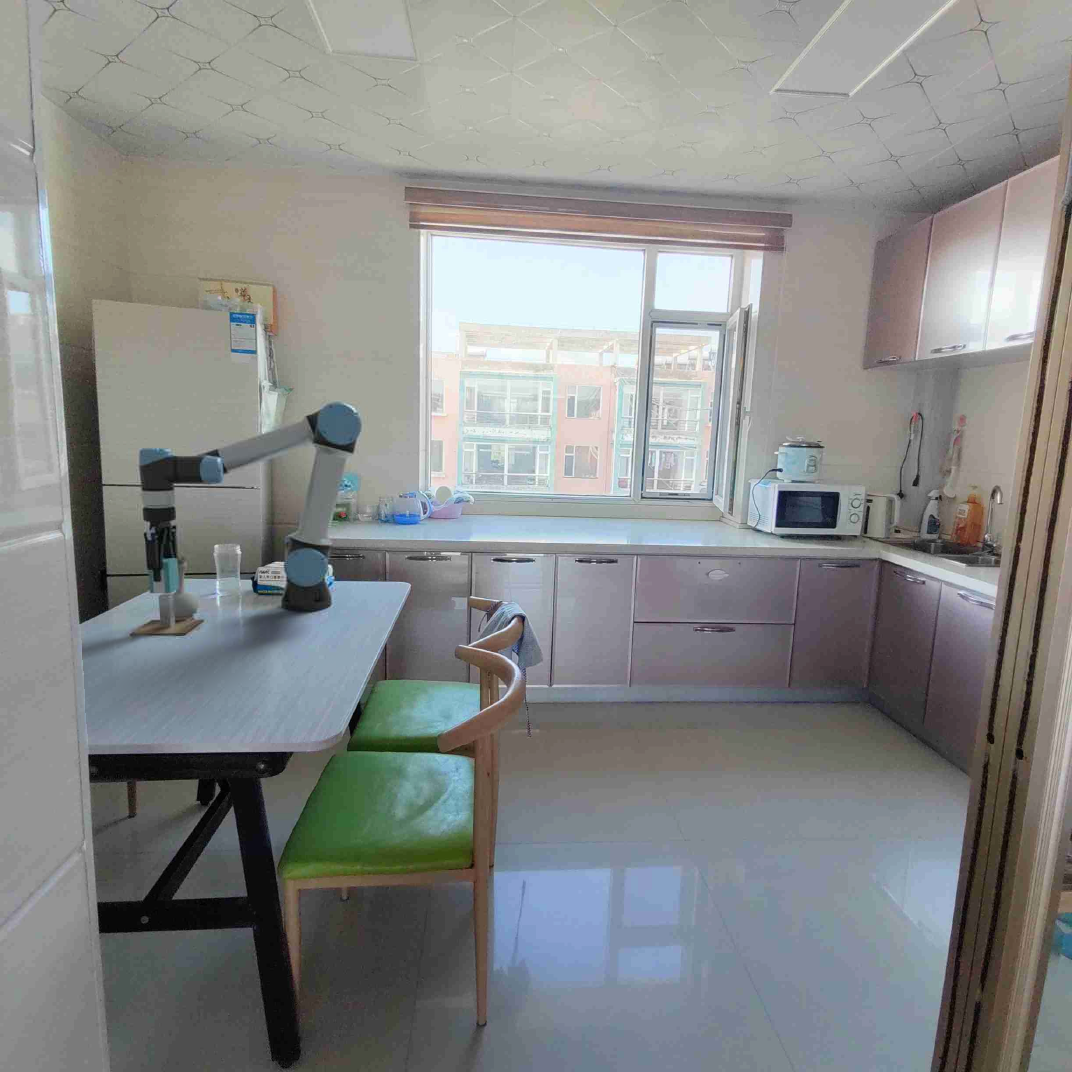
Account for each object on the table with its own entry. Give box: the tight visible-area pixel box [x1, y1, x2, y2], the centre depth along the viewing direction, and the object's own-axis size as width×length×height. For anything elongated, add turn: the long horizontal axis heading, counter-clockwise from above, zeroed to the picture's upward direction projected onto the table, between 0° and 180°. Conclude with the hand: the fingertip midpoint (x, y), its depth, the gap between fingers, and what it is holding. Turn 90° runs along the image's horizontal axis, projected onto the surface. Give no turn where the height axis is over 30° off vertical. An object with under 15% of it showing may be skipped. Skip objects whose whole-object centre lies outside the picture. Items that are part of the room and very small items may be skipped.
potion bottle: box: [171, 555, 199, 620], centre depth 178 cm, size 9×9×18 cm
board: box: [129, 618, 205, 637], centre depth 170 cm, size 14×12×1 cm
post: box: [158, 593, 175, 628], centre depth 170 cm, size 3×3×9 cm
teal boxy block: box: [147, 558, 179, 594], centre depth 168 cm, size 5×5×9 cm
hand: (164, 589), depth 169 cm, fingers closed on teal boxy block, 5 cm apart
